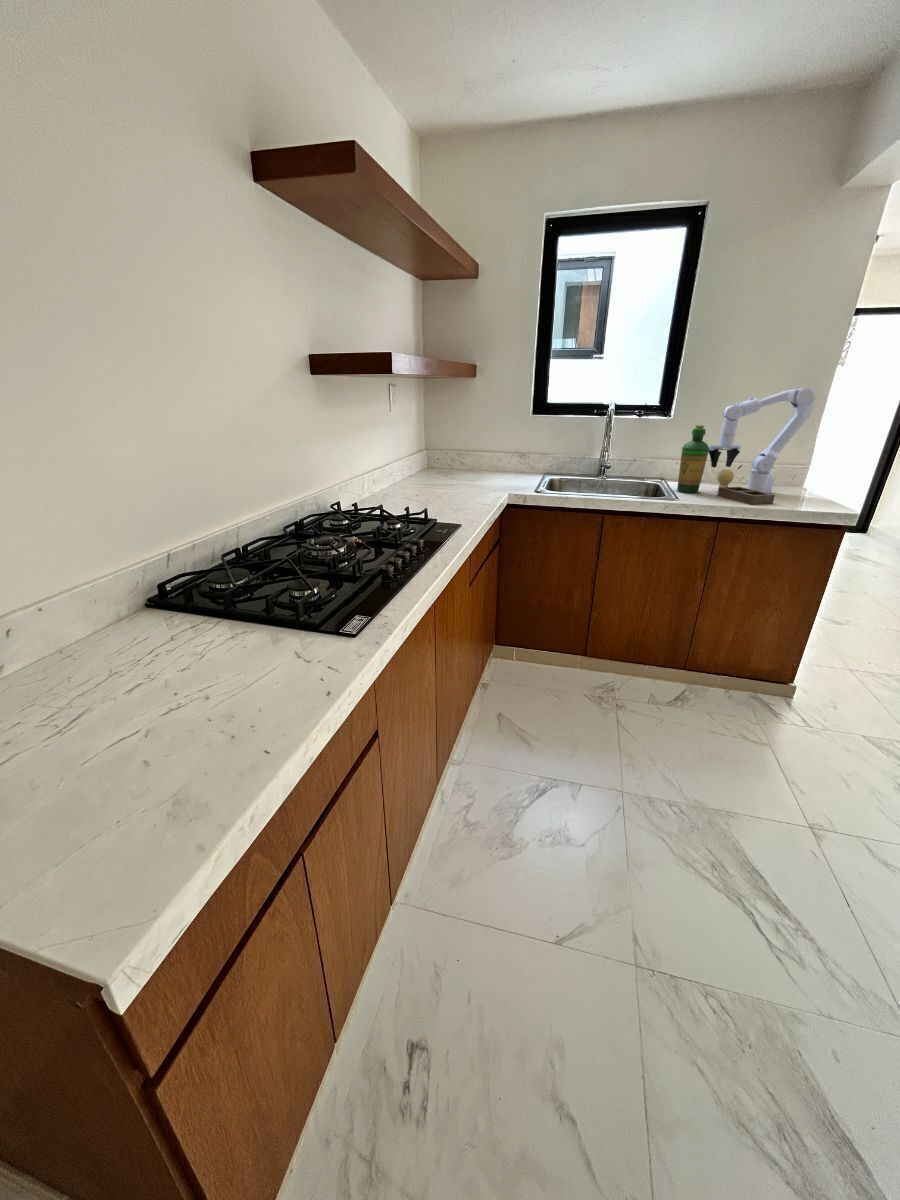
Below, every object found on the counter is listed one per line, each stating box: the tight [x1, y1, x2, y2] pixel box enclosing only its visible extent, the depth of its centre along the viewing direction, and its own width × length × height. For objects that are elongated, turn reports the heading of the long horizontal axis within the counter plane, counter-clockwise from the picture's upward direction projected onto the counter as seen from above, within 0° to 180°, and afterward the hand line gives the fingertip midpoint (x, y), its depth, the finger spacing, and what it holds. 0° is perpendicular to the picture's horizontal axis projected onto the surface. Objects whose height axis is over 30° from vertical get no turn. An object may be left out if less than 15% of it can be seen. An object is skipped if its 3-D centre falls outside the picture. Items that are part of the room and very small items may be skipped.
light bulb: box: [716, 468, 735, 492], centre depth 219 cm, size 6×6×10 cm
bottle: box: [676, 424, 710, 494], centre depth 217 cm, size 11×11×28 cm
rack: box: [717, 486, 776, 506], centre depth 207 cm, size 10×19×4 cm, turn 14°
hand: (720, 466), depth 222 cm, fingers open, 7 cm apart
